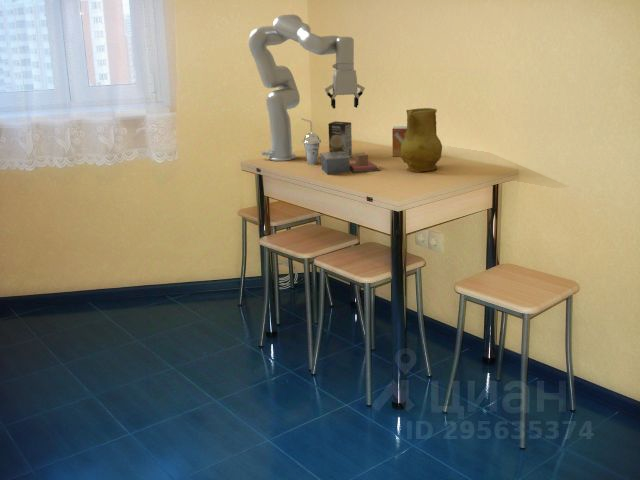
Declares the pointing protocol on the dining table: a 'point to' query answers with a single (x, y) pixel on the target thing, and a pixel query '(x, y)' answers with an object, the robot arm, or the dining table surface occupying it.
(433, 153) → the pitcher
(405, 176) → the dining table surface
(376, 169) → the mat
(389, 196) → the dining table surface
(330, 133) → the coffee box
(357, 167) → the lid
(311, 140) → the cup with straw
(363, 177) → the dining table surface
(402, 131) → the small box
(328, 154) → the tin
